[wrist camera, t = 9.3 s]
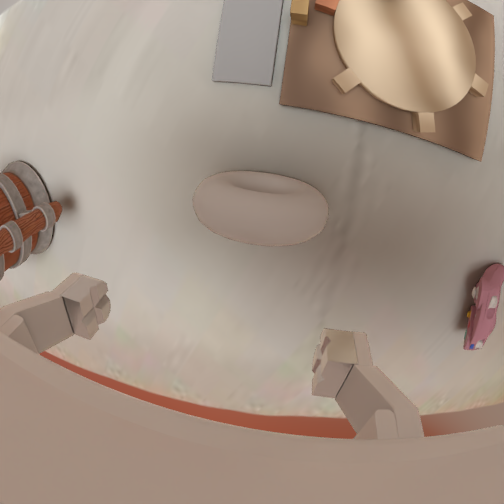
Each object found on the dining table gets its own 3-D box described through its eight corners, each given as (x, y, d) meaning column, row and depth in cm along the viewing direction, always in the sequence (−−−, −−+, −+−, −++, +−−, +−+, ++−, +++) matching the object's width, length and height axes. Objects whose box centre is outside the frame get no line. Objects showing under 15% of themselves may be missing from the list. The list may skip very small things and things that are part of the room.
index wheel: (430, -37, 11) (452, -60, 6) (500, 109, 17) (536, 114, 12) (280, -8, 16) (273, -37, 11) (362, 153, 22) (379, 164, 17)
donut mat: (288, -35, 16) (287, -38, 15) (271, 86, 22) (270, 85, 21) (233, -37, 16) (231, -40, 16) (213, 81, 22) (211, 80, 22)
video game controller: (473, 256, 26) (476, 289, 22) (506, 260, 24) (514, 294, 19) (459, 322, 31) (455, 360, 26) (488, 326, 28) (488, 365, 23)
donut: (327, 178, 25) (341, 215, 16) (320, 214, 26) (328, 269, 17) (216, 161, 26) (170, 189, 17) (213, 197, 27) (170, 241, 18)
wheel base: (486, 18, 13) (509, 10, 9) (473, 158, 21) (498, 168, 17) (301, -45, 15) (299, -68, 11) (280, 104, 22) (276, 102, 18)
